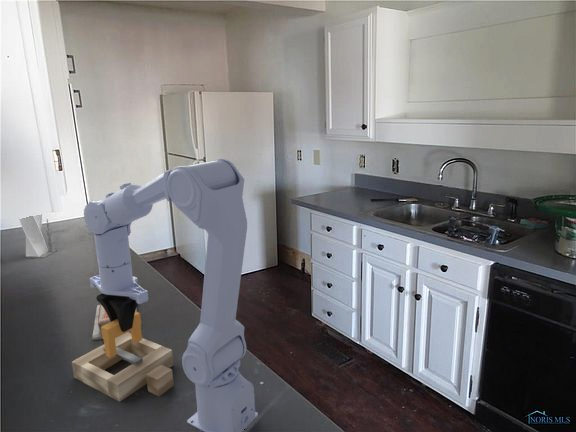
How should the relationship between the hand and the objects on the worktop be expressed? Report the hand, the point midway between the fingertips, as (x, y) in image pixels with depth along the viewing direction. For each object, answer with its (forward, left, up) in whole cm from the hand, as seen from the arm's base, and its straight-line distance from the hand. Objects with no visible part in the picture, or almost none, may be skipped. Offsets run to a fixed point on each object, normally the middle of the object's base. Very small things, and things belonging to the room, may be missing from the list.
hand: (123, 327), depth 83 cm
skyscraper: (+88, -30, -11) cm, 94 cm away
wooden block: (0, 0, -4) cm, 4 cm away
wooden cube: (-9, 0, -11) cm, 14 cm away
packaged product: (+22, -13, -11) cm, 28 cm away
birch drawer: (+1, 0, -11) cm, 11 cm away
